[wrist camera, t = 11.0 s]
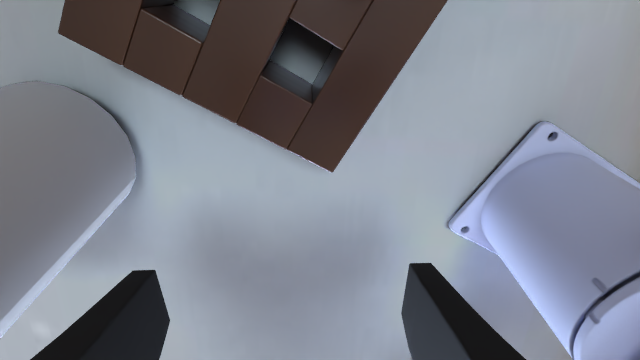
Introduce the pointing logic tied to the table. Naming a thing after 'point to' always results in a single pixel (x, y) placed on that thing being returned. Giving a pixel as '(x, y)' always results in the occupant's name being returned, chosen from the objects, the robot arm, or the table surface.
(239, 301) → the table surface
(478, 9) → the table surface
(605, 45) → the table surface
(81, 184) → the can
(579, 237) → the robot arm
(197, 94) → the pencil stand
